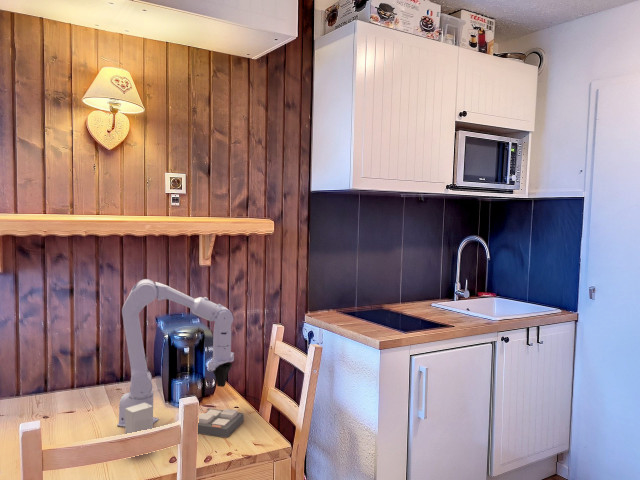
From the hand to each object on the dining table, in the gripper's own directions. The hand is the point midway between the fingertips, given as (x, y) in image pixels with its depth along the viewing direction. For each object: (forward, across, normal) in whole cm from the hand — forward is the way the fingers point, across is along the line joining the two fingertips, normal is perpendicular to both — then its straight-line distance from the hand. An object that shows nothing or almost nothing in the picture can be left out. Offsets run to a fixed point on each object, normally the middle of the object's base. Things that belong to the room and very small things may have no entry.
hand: (221, 385), depth 154 cm
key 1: (+8, -11, 0) cm, 14 cm away
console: (+9, -8, -3) cm, 13 cm away
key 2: (+8, -6, 0) cm, 10 cm away
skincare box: (+10, -29, +10) cm, 32 cm away
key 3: (+8, -11, -6) cm, 15 cm away
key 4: (+8, -6, -6) cm, 11 cm away
